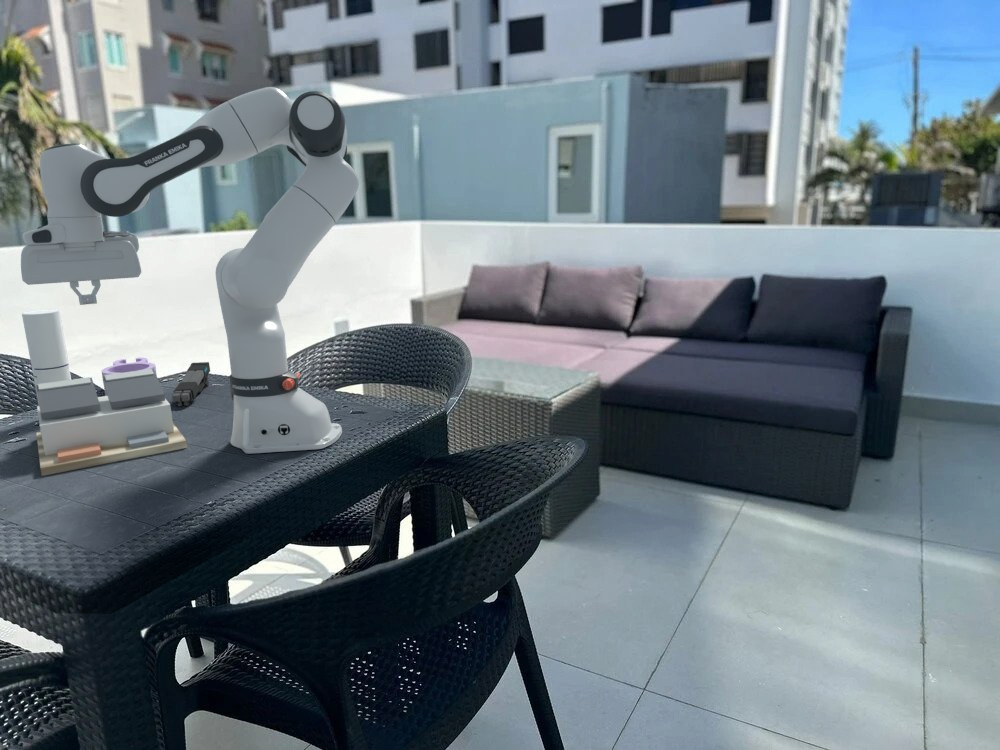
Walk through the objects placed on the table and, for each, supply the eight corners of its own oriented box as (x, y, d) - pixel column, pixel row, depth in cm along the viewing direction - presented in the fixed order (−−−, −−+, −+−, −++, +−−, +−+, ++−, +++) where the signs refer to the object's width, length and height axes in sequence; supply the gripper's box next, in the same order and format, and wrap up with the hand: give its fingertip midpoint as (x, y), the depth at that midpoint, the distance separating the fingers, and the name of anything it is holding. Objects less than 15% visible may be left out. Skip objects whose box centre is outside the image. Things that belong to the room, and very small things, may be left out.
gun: (214, 383, 192) (207, 352, 186) (198, 428, 175) (189, 395, 170) (197, 384, 191) (189, 352, 186) (179, 429, 175) (169, 396, 169)
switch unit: (37, 439, 149) (30, 399, 147) (165, 417, 163) (160, 381, 161) (41, 475, 129) (33, 430, 127) (187, 447, 143) (181, 406, 140)
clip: (109, 385, 193) (105, 360, 191) (159, 379, 198) (155, 355, 196) (103, 403, 175) (99, 377, 174) (158, 397, 180) (154, 371, 179)
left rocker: (37, 391, 144) (35, 383, 144) (92, 384, 150) (91, 376, 149) (41, 420, 136) (40, 411, 135) (100, 410, 141) (99, 402, 140)
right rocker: (103, 382, 151) (102, 374, 150) (154, 375, 156) (153, 367, 156) (111, 409, 142) (110, 400, 142) (165, 400, 148) (164, 392, 147)
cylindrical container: (60, 423, 159) (41, 314, 153) (34, 422, 161) (13, 314, 155) (84, 414, 166) (67, 309, 160) (58, 413, 167) (40, 309, 161)
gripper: (134, 229, 143) (144, 297, 147) (14, 234, 132) (27, 307, 136) (138, 230, 138) (148, 300, 142) (14, 235, 127) (28, 311, 131)
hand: (88, 304), depth 139 cm, fingers closed
